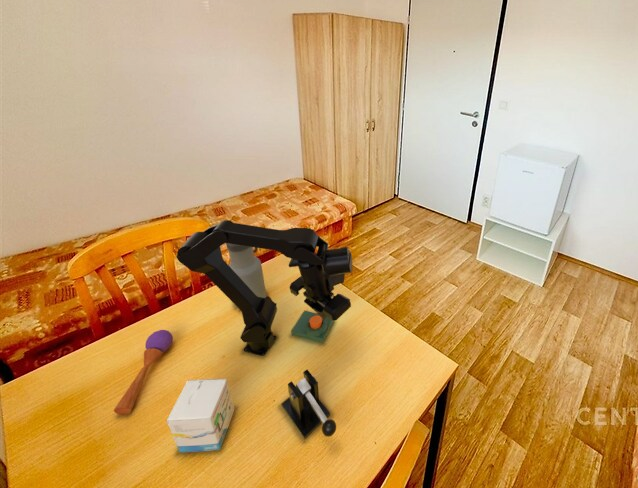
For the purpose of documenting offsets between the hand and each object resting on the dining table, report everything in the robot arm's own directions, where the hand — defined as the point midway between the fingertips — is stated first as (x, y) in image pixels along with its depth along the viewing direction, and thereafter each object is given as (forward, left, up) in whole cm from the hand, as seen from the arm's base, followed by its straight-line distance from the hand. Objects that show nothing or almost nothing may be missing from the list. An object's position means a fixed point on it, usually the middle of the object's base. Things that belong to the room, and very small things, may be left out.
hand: (325, 317), depth 88 cm
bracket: (+3, -19, -10) cm, 22 cm away
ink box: (-16, -28, -11) cm, 34 cm away
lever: (+7, -21, -4) cm, 22 cm away
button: (-4, +2, -7) cm, 9 cm away
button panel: (-6, +3, -10) cm, 13 cm away
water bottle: (-31, +8, -11) cm, 34 cm away
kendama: (-40, -21, -11) cm, 46 cm away
